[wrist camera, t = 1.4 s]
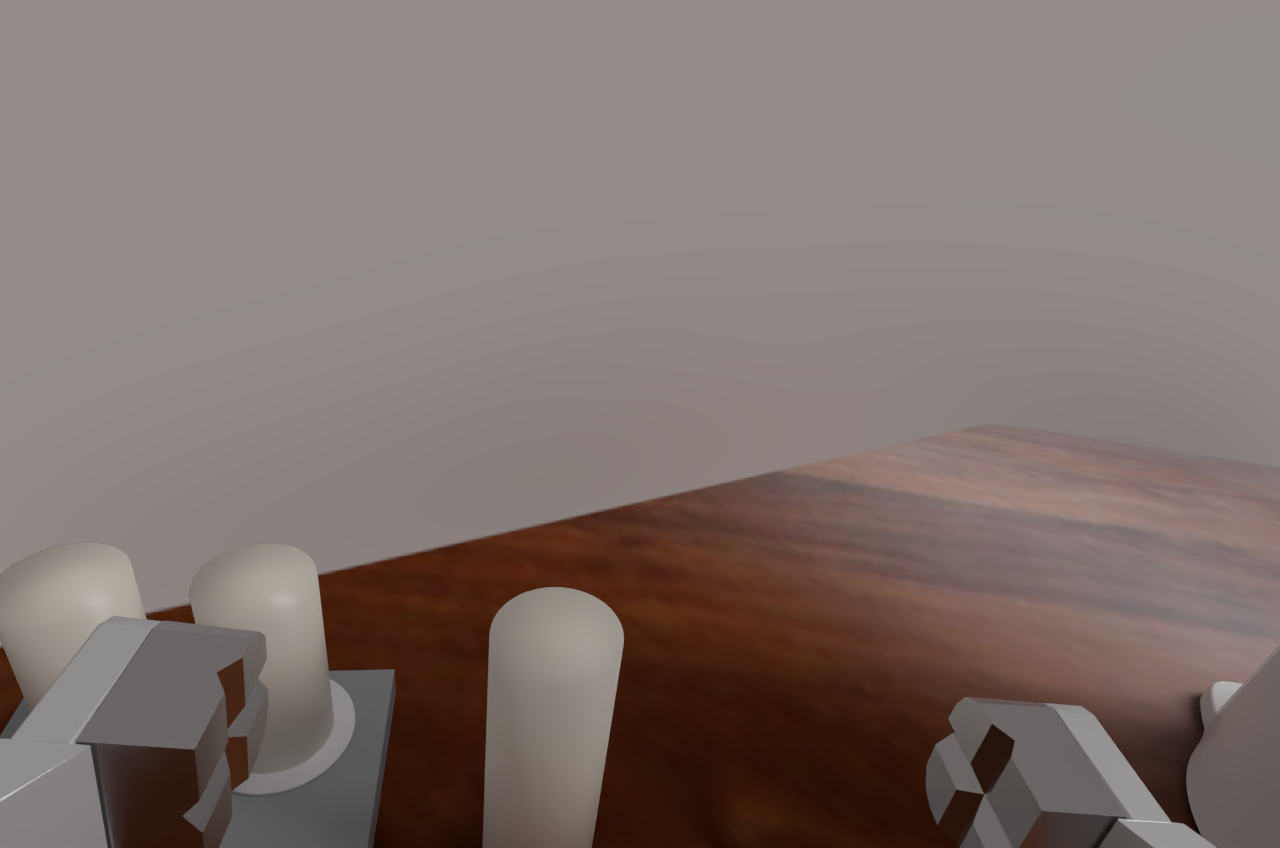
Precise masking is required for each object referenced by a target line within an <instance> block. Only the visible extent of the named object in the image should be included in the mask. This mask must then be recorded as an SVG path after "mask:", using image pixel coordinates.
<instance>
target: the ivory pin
mask: <svg viewBox="0 0 1280 848" xmlns="http://www.w3.org/2000/svg"><path fill="white" fill-rule="evenodd" d="M623 644H624V633H623V629H622V626H621V623H620V621H619V619H618V617H617V616H616V614H615V613H614V612H613V611H612V609H611V608H609V607H608V606H607V605H606V604H605V603H604V602H602V601H601V600H599V599H598V598H596V597H594V596H592V595H590V594H588V593H585V592H582V591H579V590H575V589H570V588H563V587H547V588H540V589H535V590H531V591H528V592H525V593H522V594H520V595H518V596H516V597H515V598H513V599H511V600H510V601H509V602H507V603H506V604H505V605H504V606H503V607H502V608H501V609H500V610H499V611H498V613H497V614H496V616H495V617H494V619H493V621H492V624H491V628H490V635H489V665H488V695H487V725H486V755H485V786H484V816H483V846H482V848H592V843H593V837H594V830H595V824H596V818H597V811H598V805H599V798H600V792H601V786H602V779H603V773H604V766H605V760H606V754H607V747H608V741H609V734H610V728H611V722H612V715H613V709H614V702H615V696H616V690H617V683H618V677H619V670H620V664H621V658H622V651H623Z"/></svg>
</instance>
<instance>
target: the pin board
mask: <svg viewBox="0 0 1280 848" xmlns="http://www.w3.org/2000/svg"><path fill="white" fill-rule="evenodd" d="M189 597H190V602H191V606H192V610H193V615H194V619H195V623H196V624H198V625H207V626H216V627H224V628H233V629H241V630H250V631H258V632H261V633H262V634H264V635H265V636H266V650H267V660H266V662H265V664H264V667H263V669H262V671H261V673H260V675H259V677H258V679H259V680H260V681H261V682H262V683H263V684H264V685H265V686H266V688H267V689H268V712H267V721H266V728H265V732H264V735H263V739H262V743H261V747H260V750H259V754H258V757H257V759H256V762H255V764H254V767H253V769H252V771H251V774H250V776H249V779H247V780H246V781H245V782H243V783H242V784H241V785H239V786H238V787H237V788H235V789H234V790H233V791H231V796H232V819H231V821H230V823H229V826H228V828H227V830H226V832H225V835H224V837H223V839H222V842H221V844H220V846H219V848H373V845H374V838H375V831H376V825H377V818H378V811H379V804H380V797H381V790H382V784H383V777H384V770H385V763H386V756H387V749H388V743H389V736H390V729H391V722H392V715H393V708H394V702H395V695H396V687H395V669H392V670H349V671H329V669H328V660H327V652H326V643H325V635H324V626H323V617H322V609H321V600H320V592H319V583H318V575H317V568H316V565H315V563H314V561H313V560H312V558H311V557H310V556H309V555H308V554H306V553H305V552H303V551H302V550H300V549H298V548H295V547H292V546H289V545H285V544H278V543H261V544H252V545H248V546H243V547H239V548H236V549H233V550H230V551H228V552H226V553H223V554H221V555H220V556H218V557H216V558H214V559H213V560H211V561H210V562H209V563H207V564H206V565H205V566H204V567H203V568H202V569H201V570H200V571H199V572H198V573H197V574H196V576H195V577H194V579H193V581H192V583H191V586H190V590H189ZM112 616H122V617H130V618H138V619H146V616H145V612H144V609H143V605H142V601H141V598H140V594H139V590H138V587H137V583H136V580H135V576H134V572H133V569H132V565H131V561H130V559H129V557H128V556H127V555H126V554H125V553H124V552H123V551H122V550H120V549H118V548H116V547H113V546H111V545H106V544H101V543H92V542H84V543H72V544H65V545H60V546H56V547H52V548H49V549H45V550H43V551H40V552H37V553H35V554H32V555H30V556H28V557H26V558H24V559H22V560H20V561H18V562H17V563H15V564H14V565H12V566H10V567H9V568H8V569H6V570H5V571H4V572H3V573H2V574H1V575H0V640H1V643H2V645H3V648H4V650H5V652H6V655H7V657H8V660H9V662H10V665H11V667H12V669H13V672H14V674H15V677H16V679H17V681H18V684H19V686H20V689H21V691H22V694H23V696H24V698H23V700H22V701H21V703H20V705H19V706H18V708H17V709H16V711H15V713H14V714H13V716H12V717H11V719H10V721H9V722H8V724H7V726H6V727H5V729H4V730H3V732H2V734H1V735H0V739H10V738H11V737H12V735H13V734H14V733H15V732H16V730H17V729H18V728H19V726H20V725H21V724H22V723H23V721H24V720H25V719H26V717H27V716H28V715H29V714H30V712H31V711H32V710H33V708H34V707H35V706H36V705H37V703H38V702H39V701H40V699H41V698H42V697H43V696H44V694H45V693H46V692H47V690H48V689H49V688H50V687H51V685H52V684H53V683H54V681H55V680H56V679H57V678H58V676H59V675H60V674H61V672H62V671H63V670H64V669H65V667H66V666H67V665H68V663H69V662H70V661H71V660H72V658H73V657H74V656H75V654H76V653H77V652H78V651H79V649H80V648H81V647H82V645H83V644H84V643H85V642H86V640H87V639H88V638H89V636H90V635H91V634H92V633H93V631H94V630H95V629H96V627H97V626H98V625H99V624H101V623H102V622H104V621H105V620H107V619H109V618H110V617H112ZM146 620H147V619H146Z"/></svg>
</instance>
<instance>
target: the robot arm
mask: <svg viewBox="0 0 1280 848" xmlns="http://www.w3.org/2000/svg"><path fill="white" fill-rule="evenodd" d="M266 660H267V650H266V636H265V635H264V634H262V633H261V632H258V631H250V630H241V629H233V628H224V627H216V626H207V625H198V624H190V623H181V622H173V621H163V622H162V621H154V620H146V619H138V618H130V617H122V616H112V617H110V618H109V619H107V620H105V621H104V622H102V623H101V624H99V625H98V626H97V627H96V629H95V630H94V631H93V633H92V634H91V635H90V636H89V638H88V639H87V640H86V642H85V643H84V644H83V645H82V647H81V648H80V649H79V651H78V652H77V653H76V654H75V656H74V657H73V658H72V660H71V661H70V662H69V663H68V665H67V666H66V667H65V669H64V670H63V671H62V672H61V674H60V675H59V676H58V678H57V679H56V680H55V681H54V683H53V684H52V685H51V687H50V688H49V689H48V690H47V692H46V693H45V694H44V696H43V697H42V698H41V699H40V701H39V702H38V703H37V705H36V706H35V707H34V708H33V710H32V711H31V712H30V714H29V715H28V716H27V717H26V719H25V720H24V721H23V723H22V724H21V725H20V726H19V728H18V729H17V730H16V732H15V733H14V734H13V735H12V737H11V738H10V739H0V848H219V846H220V844H221V842H222V839H223V837H224V835H225V832H226V830H227V828H228V826H229V823H230V821H231V819H232V796H231V791H233V790H234V789H235V788H237V787H238V786H239V785H241V784H242V783H243V782H245V781H246V780H247V779H249V776H250V774H251V771H252V769H253V767H254V764H255V762H256V759H257V757H258V754H259V750H260V747H261V743H262V739H263V735H264V732H265V728H266V721H267V712H268V689H267V688H266V686H265V685H264V684H263V683H262V682H261V681H260V680H259V679H258V677H259V675H260V673H261V671H262V669H263V667H264V664H265V662H266ZM1200 709H1201V715H1202V720H1203V725H1204V733H1203V736H1202V739H1201V741H1200V742H1199V744H1198V745H1197V747H1196V748H1195V750H1194V751H1193V753H1192V755H1191V757H1190V760H1189V763H1188V767H1187V773H1186V786H1187V794H1188V799H1189V804H1190V807H1191V811H1192V814H1193V817H1194V819H1195V822H1196V825H1197V827H1198V829H1199V831H1200V834H1201V836H1202V837H1201V836H1200V835H1199V834H1197V833H1196V832H1195V831H1193V830H1192V829H1190V828H1189V827H1188V826H1186V825H1185V824H1182V823H1172V822H1171V821H1170V819H1169V818H1168V817H1167V815H1166V814H1165V812H1164V811H1163V810H1162V808H1161V807H1160V806H1159V804H1158V803H1157V801H1156V800H1155V799H1154V797H1153V796H1152V795H1151V793H1150V792H1149V790H1148V789H1147V788H1146V786H1145V785H1144V783H1143V782H1142V781H1141V779H1140V778H1139V777H1138V775H1137V774H1136V772H1135V771H1134V770H1133V768H1132V767H1131V766H1130V764H1129V763H1128V761H1127V760H1126V759H1125V757H1124V756H1123V755H1122V753H1121V752H1120V750H1119V749H1118V748H1117V746H1116V745H1115V743H1114V742H1113V741H1112V739H1111V738H1110V737H1109V735H1108V734H1107V732H1106V731H1105V730H1104V728H1103V727H1102V726H1101V724H1100V723H1099V721H1098V720H1097V719H1096V717H1095V716H1094V715H1093V714H1092V713H1090V712H1089V711H1088V710H1086V709H1085V708H1083V707H1082V706H1074V705H1061V704H1049V703H1042V704H1039V703H1034V702H1022V701H1010V700H998V699H986V698H973V697H965V698H964V699H962V700H961V701H960V702H958V703H957V704H956V705H955V707H954V709H953V711H952V713H951V715H950V717H949V719H948V720H949V723H950V725H951V728H952V730H953V733H952V734H951V735H949V736H948V737H946V738H945V739H943V740H942V741H940V742H939V743H937V744H936V745H935V747H934V749H933V751H932V753H931V756H930V758H929V760H928V763H927V768H926V792H927V797H928V802H929V806H930V809H931V811H932V813H933V816H934V818H935V821H936V823H937V825H938V826H939V827H940V828H941V829H942V830H943V831H944V832H945V833H946V834H947V835H948V836H949V837H950V838H952V839H953V840H954V841H955V842H956V843H957V846H956V848H1280V645H1279V646H1278V647H1277V649H1276V650H1275V651H1274V652H1273V653H1272V654H1271V655H1270V656H1269V657H1268V658H1267V659H1266V660H1265V661H1264V662H1263V663H1262V664H1261V665H1260V666H1259V668H1258V669H1257V670H1256V671H1255V672H1254V673H1253V674H1252V675H1251V676H1250V677H1249V678H1248V679H1247V680H1246V681H1245V682H1244V683H1243V684H1242V683H1234V682H1227V681H1218V682H1215V683H1213V684H1212V685H1211V686H1210V687H1209V688H1208V689H1207V690H1206V691H1205V692H1204V693H1203V694H1202V696H1201V698H1200Z"/></svg>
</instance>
